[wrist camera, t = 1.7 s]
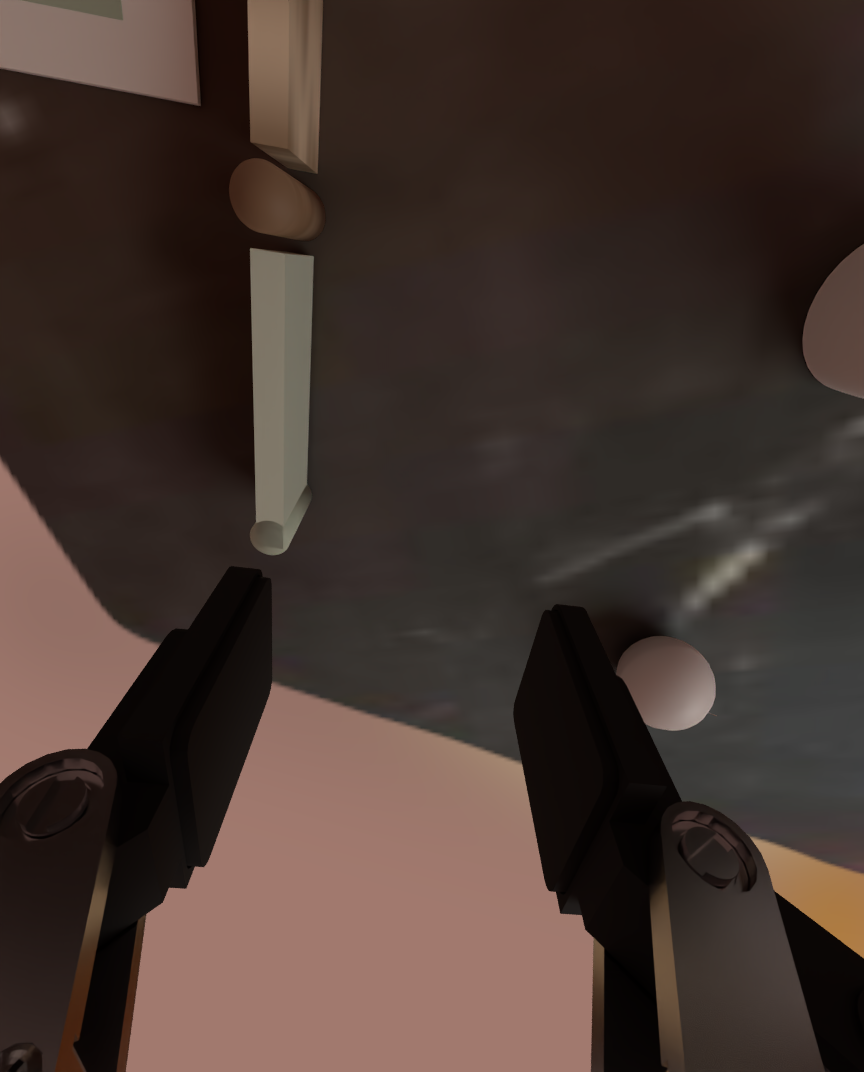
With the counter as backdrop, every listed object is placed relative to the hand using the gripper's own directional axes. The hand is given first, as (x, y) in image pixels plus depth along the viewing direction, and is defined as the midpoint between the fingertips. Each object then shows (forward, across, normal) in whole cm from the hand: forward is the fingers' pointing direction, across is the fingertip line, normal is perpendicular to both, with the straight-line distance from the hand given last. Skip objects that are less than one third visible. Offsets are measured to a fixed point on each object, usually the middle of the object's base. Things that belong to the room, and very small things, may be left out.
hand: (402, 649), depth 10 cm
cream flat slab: (+17, +6, 0) cm, 18 cm away
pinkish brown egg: (+18, -18, +14) cm, 29 cm away
